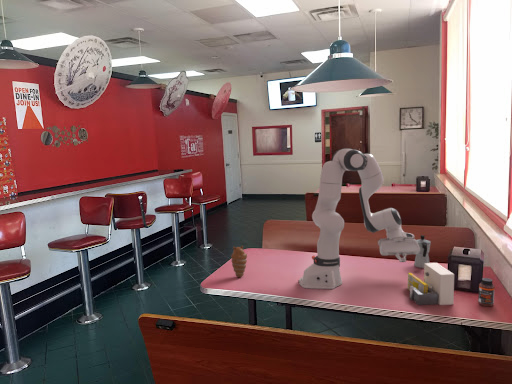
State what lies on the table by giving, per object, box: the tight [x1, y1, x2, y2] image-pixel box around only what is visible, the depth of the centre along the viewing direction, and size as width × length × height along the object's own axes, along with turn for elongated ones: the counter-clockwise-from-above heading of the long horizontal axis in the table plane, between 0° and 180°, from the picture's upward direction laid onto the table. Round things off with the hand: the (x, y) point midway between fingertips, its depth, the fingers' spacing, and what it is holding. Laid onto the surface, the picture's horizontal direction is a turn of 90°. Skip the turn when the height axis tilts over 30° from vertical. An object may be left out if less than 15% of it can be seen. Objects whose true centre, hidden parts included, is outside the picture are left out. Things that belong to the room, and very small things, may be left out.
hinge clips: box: [409, 285, 438, 306], centre depth 178 cm, size 11×8×6 cm
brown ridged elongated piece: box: [230, 245, 248, 278], centre depth 217 cm, size 9×8×18 cm
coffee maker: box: [413, 234, 432, 269], centre depth 223 cm, size 15×9×18 cm, turn 168°
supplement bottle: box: [477, 277, 496, 307], centre depth 172 cm, size 6×6×11 cm
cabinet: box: [423, 262, 455, 306], centre depth 180 cm, size 7×16×14 cm, turn 1°
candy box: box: [406, 272, 428, 293], centre depth 185 cm, size 16×2×8 cm, turn 4°
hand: (403, 261), depth 200 cm, fingers closed
